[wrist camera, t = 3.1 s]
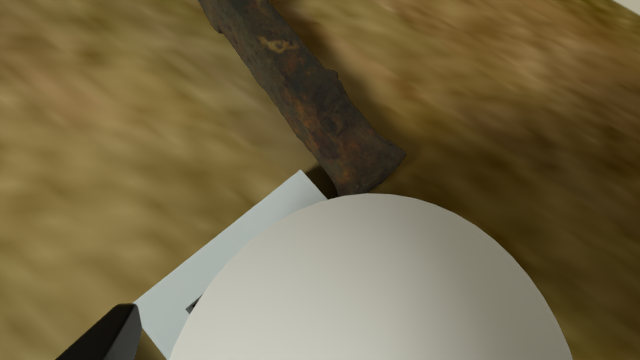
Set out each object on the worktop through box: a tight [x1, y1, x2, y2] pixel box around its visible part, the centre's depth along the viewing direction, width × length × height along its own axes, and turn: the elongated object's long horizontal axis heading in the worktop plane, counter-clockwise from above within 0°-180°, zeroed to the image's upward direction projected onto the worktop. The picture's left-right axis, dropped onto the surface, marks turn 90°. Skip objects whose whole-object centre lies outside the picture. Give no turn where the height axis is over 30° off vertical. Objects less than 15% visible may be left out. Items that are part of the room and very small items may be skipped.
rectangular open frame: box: [133, 170, 327, 360], centre depth 14 cm, size 10×10×2 cm
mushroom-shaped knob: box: [169, 193, 573, 360], centre depth 9 cm, size 5×5×12 cm
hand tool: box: [198, 0, 406, 197], centre depth 17 cm, size 19×4×5 cm, turn 35°
